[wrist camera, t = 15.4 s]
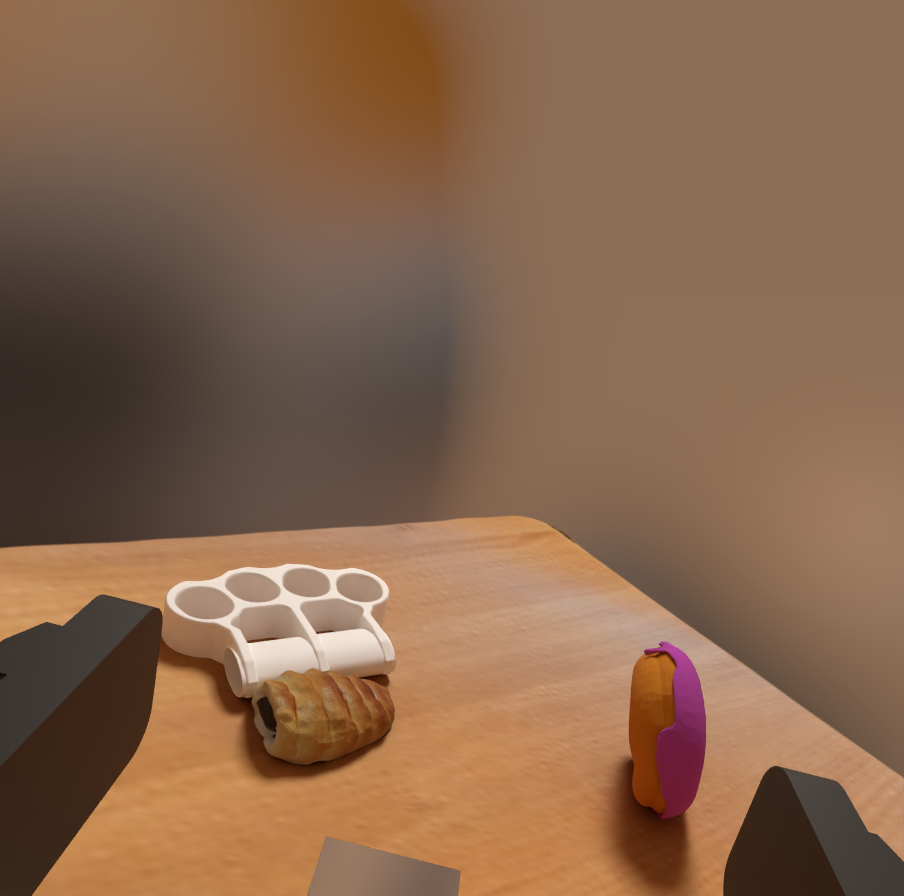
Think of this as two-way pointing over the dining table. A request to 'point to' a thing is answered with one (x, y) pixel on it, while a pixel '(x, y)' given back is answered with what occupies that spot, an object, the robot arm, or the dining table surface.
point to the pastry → (320, 715)
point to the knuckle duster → (282, 623)
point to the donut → (666, 730)
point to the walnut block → (377, 873)
